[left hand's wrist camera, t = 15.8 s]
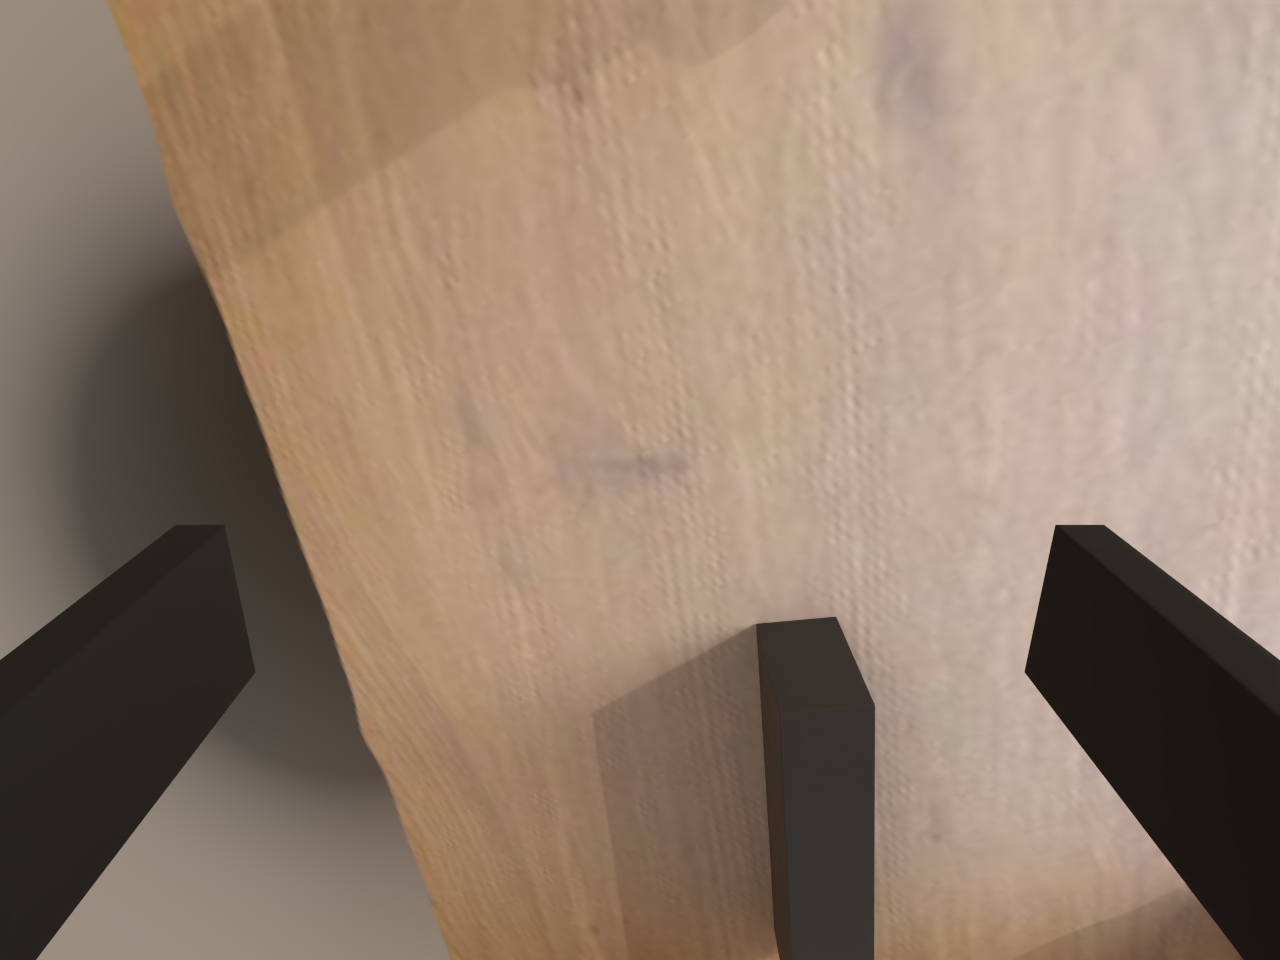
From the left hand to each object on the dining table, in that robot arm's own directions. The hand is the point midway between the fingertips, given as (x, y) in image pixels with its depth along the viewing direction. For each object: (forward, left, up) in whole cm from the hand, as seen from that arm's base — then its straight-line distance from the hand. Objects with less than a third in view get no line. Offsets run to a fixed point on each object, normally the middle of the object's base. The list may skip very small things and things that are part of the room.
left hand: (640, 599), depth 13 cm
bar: (+32, +11, -30) cm, 45 cm away
